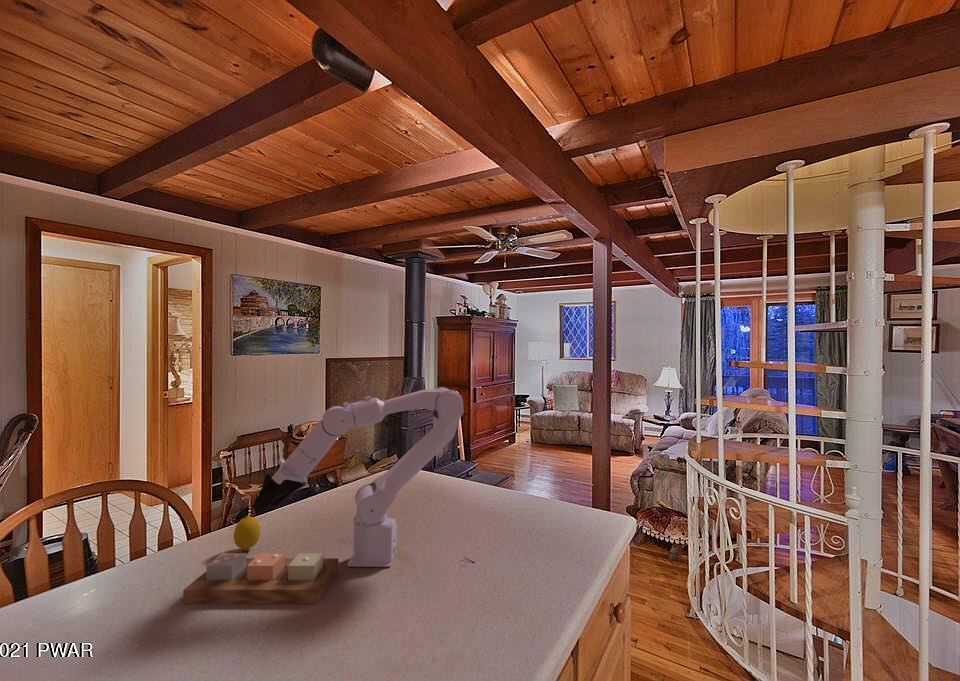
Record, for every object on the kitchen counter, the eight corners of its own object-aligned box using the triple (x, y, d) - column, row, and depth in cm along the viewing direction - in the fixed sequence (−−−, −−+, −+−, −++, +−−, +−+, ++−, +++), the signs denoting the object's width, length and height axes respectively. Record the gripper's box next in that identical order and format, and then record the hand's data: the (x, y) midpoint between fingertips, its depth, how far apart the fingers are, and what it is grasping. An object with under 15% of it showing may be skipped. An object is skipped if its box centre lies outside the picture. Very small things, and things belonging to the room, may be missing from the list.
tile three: (245, 569, 88) (246, 552, 88) (231, 583, 83) (232, 564, 83) (221, 569, 88) (221, 552, 88) (206, 583, 83) (206, 564, 83)
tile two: (284, 570, 88) (284, 552, 88) (272, 583, 83) (273, 564, 83) (260, 570, 88) (260, 552, 88) (247, 583, 83) (247, 564, 83)
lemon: (248, 557, 97) (249, 521, 97) (227, 554, 98) (228, 519, 98) (265, 546, 103) (266, 512, 103) (245, 543, 104) (246, 510, 104)
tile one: (323, 570, 88) (323, 552, 88) (313, 583, 83) (313, 564, 83) (298, 570, 88) (299, 552, 88) (288, 583, 83) (288, 564, 83)
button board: (338, 570, 91) (338, 558, 92) (317, 603, 79) (317, 589, 80) (222, 569, 91) (222, 558, 91) (183, 603, 79) (183, 589, 79)
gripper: (305, 442, 100) (264, 490, 97) (281, 442, 86) (233, 499, 83) (328, 460, 100) (288, 510, 97) (308, 464, 86) (260, 522, 83)
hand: (264, 506), depth 90 cm, fingers open, 7 cm apart
